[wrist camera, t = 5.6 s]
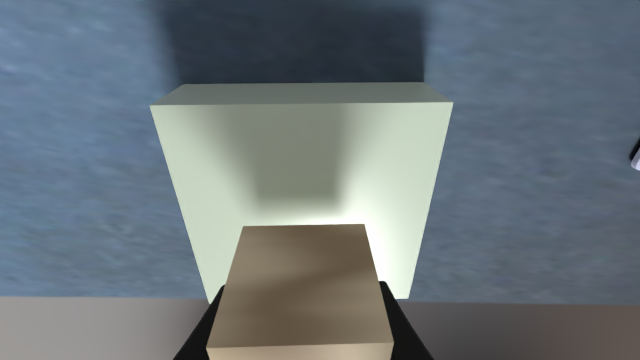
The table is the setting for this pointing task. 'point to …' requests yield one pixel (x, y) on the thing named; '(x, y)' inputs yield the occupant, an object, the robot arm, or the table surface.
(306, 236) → the birch block
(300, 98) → the green box
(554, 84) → the table surface
